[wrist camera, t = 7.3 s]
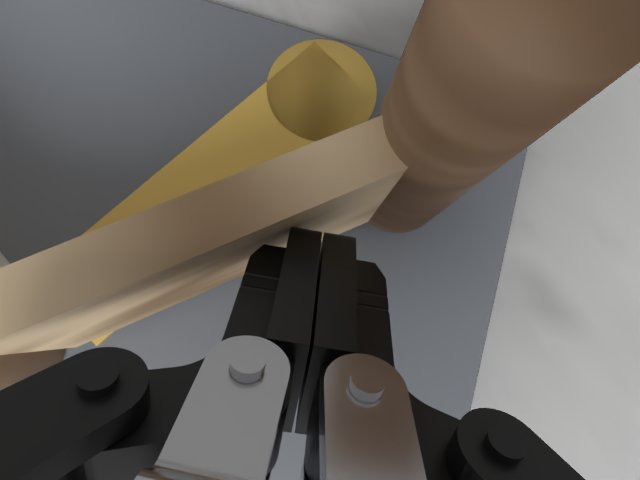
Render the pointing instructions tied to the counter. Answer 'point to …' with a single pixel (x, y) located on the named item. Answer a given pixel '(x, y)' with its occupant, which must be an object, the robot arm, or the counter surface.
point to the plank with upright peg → (339, 167)
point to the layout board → (221, 169)
